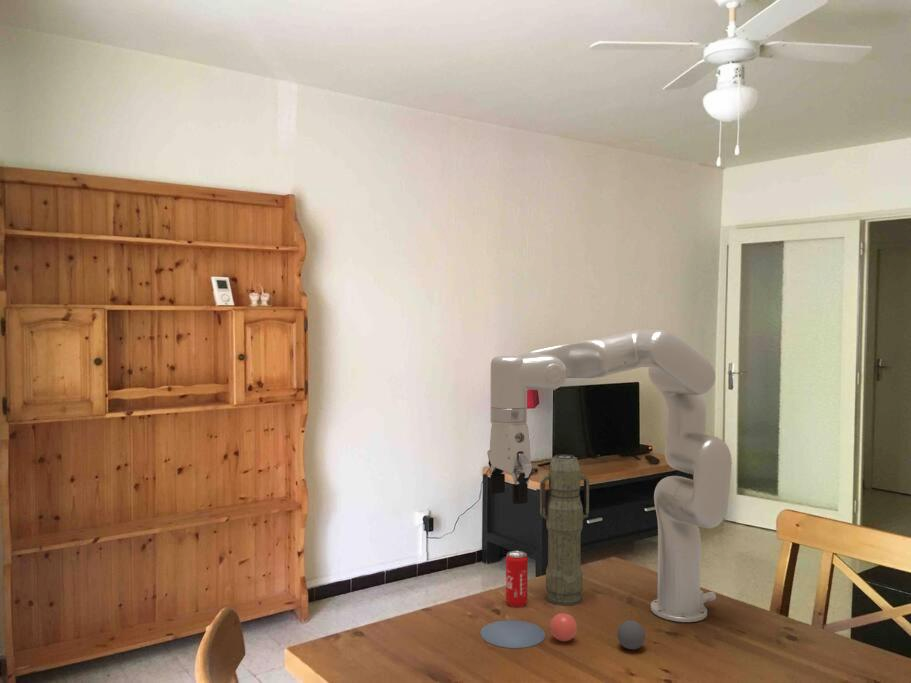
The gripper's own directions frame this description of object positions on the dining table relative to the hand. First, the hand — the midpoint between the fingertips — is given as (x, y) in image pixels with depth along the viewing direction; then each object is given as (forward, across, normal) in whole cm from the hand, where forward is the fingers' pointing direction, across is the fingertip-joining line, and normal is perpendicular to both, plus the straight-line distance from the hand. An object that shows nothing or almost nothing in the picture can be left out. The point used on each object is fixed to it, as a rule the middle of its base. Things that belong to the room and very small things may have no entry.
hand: (508, 497), depth 152 cm
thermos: (+31, +18, -25) cm, 44 cm away
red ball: (+28, -2, -12) cm, 31 cm away
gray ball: (+28, -11, -23) cm, 38 cm away
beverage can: (+31, +20, -13) cm, 39 cm away
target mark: (+31, +5, -4) cm, 32 cm away
